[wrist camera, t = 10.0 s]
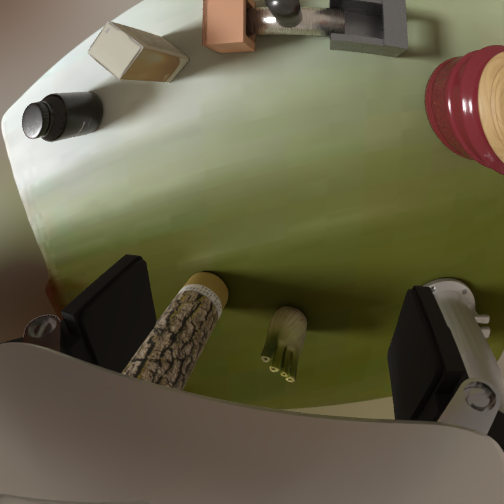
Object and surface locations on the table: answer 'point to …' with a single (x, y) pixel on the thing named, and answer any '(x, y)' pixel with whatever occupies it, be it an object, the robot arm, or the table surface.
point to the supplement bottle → (62, 116)
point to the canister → (470, 105)
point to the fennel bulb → (285, 341)
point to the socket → (227, 26)
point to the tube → (293, 19)
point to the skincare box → (136, 54)
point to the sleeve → (372, 27)
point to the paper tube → (180, 333)
